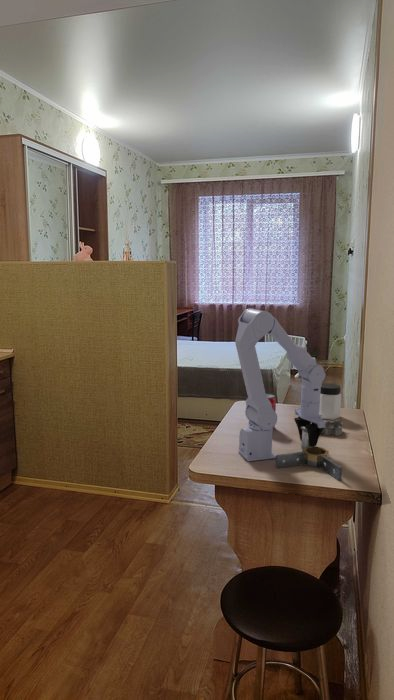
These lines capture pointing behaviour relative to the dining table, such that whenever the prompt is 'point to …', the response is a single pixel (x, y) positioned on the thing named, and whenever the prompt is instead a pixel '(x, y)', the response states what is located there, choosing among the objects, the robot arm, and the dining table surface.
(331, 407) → the jar
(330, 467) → the hinge
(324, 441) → the dining table surface
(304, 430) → the pin
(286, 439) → the dining table surface
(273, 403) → the soda can
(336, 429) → the egg carton
